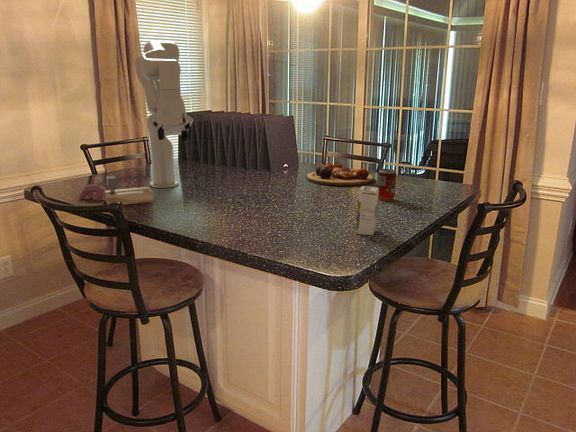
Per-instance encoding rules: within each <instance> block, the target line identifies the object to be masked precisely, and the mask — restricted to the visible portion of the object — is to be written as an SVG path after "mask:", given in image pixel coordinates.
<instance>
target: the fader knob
mask: <svg viewBox="0 0 576 432" xmlns="http://www.w3.org/2000/svg"><path fill="white" fill-rule="evenodd" d="M117 184H118V183H117V177H116V176H115V175H107V176H106V185H107V186H106V187H107V190H110V192H115V190H117V189H118V185H117Z"/></svg>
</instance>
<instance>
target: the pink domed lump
mask: <svg viewBox="0 0 576 432" xmlns="http://www.w3.org/2000/svg"><path fill="white" fill-rule="evenodd" d="M105 190H107V188H105V187H104V186H103V185H100V184H95V183H93V184H87V185H85V186H84V188H83V189H82V191H81V192H80V194H79V195H78V196H79V199H80V200H84V199H85V198H86V197H88V198H89V199H96V201H97V202H101V201H102V200H103V199H104V197H105Z"/></svg>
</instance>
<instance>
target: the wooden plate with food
mask: <svg viewBox="0 0 576 432" xmlns="http://www.w3.org/2000/svg"><path fill="white" fill-rule="evenodd" d="M306 179H307V180H308V182H310V183H311V182H312V183H314V184H317V185H318V184H319V185H326V186H338V187H344V186H347V187H350V186H362V185H363V186H364V185H367V184H370V183H372V182H373V181H374V176H373V175H372V174H370V172H369V171H368V169H366V168H364V167H362V168H356V169H353V168H350V167H348V166H343V165H342V163H340V162H338V161H336V162H335V163H331V162H330V163H327V164H323V163H320V164H319V165H317V167H315V171H312V172H310V173H308V174H307V175H306Z"/></svg>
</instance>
